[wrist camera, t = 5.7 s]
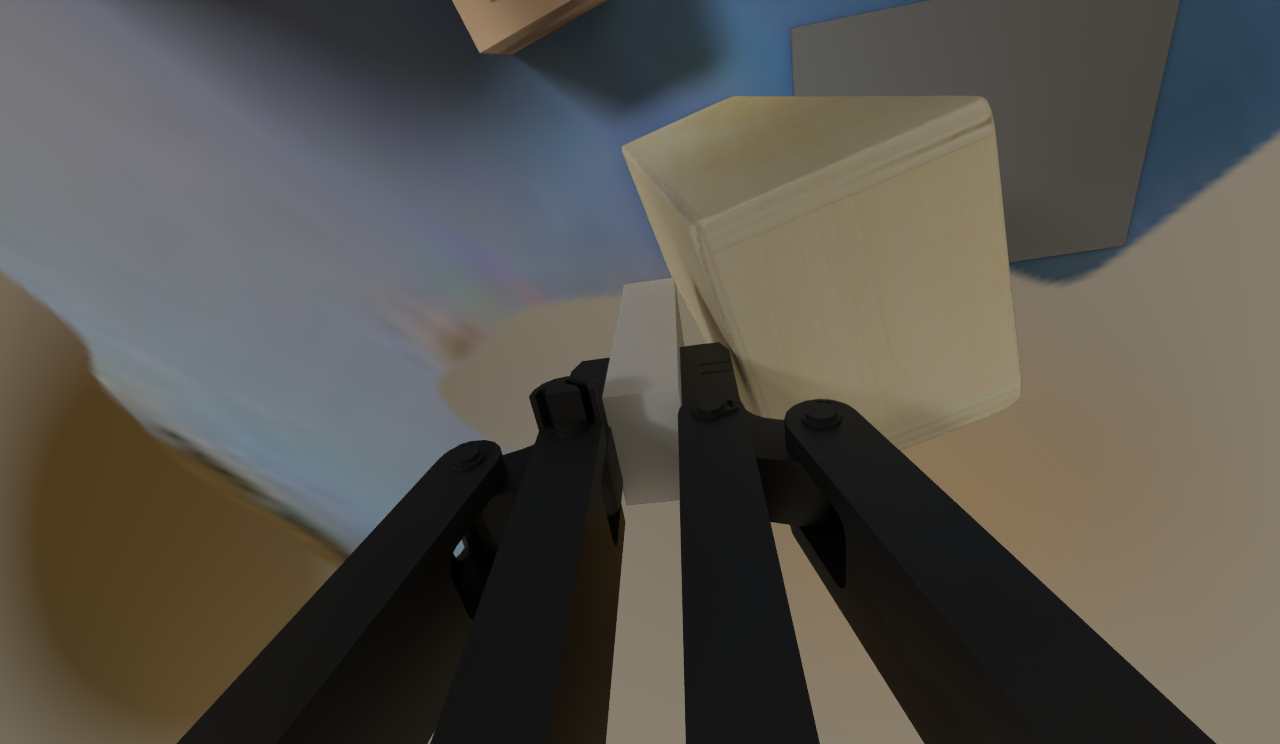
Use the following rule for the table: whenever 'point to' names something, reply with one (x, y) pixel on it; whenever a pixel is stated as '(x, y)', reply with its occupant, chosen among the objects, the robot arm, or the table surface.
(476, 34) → the letter cube
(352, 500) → the table surface
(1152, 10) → the mat
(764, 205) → the light wooden block
